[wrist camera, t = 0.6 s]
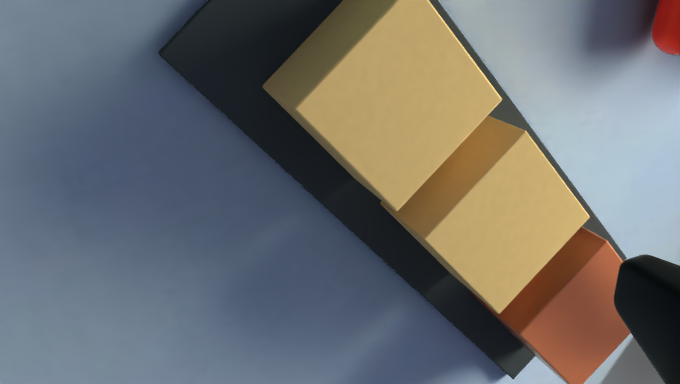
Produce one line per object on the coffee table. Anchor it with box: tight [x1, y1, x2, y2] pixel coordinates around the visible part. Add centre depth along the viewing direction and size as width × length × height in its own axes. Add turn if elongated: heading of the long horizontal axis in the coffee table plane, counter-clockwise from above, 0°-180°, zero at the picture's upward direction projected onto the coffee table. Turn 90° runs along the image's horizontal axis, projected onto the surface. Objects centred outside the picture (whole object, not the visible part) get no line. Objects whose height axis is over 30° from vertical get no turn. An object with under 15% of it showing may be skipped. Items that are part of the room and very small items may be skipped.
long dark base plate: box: [159, 0, 626, 379], centre depth 23 cm, size 8×22×4 cm, turn 42°
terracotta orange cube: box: [471, 226, 631, 384], centre depth 27 cm, size 5×5×4 cm
